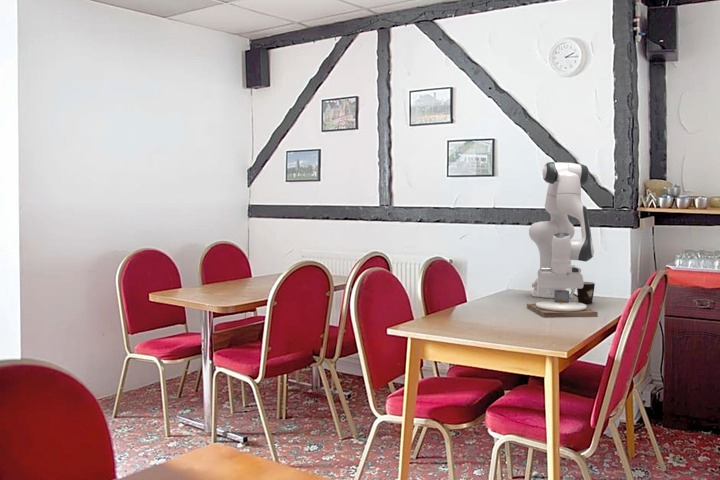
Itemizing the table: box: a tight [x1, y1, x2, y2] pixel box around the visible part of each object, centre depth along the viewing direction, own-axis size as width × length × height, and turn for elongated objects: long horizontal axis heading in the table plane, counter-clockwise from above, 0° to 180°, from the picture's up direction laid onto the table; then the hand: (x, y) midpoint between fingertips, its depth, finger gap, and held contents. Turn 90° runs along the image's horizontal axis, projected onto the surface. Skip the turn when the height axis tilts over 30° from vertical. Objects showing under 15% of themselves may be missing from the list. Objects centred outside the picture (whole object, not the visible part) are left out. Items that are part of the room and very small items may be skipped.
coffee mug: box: [573, 281, 596, 305], centre depth 344 cm, size 12×9×10 cm
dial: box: [535, 289, 588, 311], centre depth 320 cm, size 23×22×6 cm
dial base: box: [526, 302, 599, 318], centre depth 320 cm, size 24×24×2 cm
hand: (560, 297), depth 328 cm, fingers open, 8 cm apart
